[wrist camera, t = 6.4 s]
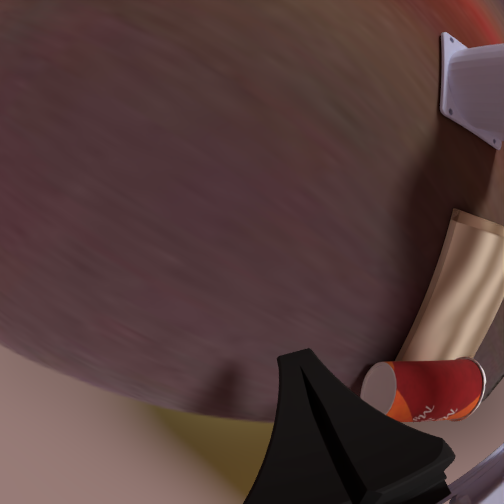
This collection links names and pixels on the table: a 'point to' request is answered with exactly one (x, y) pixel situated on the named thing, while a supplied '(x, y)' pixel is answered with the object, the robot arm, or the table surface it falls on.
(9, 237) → the table surface
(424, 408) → the paper cup
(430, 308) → the birch board
